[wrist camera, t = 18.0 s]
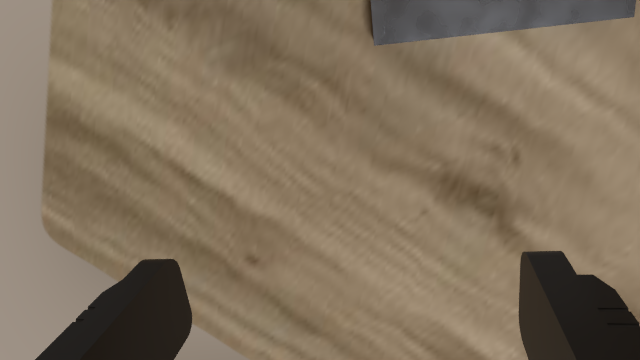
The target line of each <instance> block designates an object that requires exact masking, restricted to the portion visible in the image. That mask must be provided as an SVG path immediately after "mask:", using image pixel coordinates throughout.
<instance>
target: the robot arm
mask: <svg viewBox="0 0 640 360" xmlns="http://www.w3.org/2000/svg"><path fill="white" fill-rule="evenodd" d="M191 325H192V312H191V308H190V304H189V300H188V297H187V293H186V289H185V285H184V282H183V278H182V274H181V271H180V267H179V265H178V263H177V262H176V261H175V260H174V259H148V260H142V261H141V262H139V263H138V264H137V265H136V266H135V267H134V268H133V270H132V271H131V272H130V273H129V274H128V275H127V276H126V277H125V278H124V279H123V280H121V281H120V282H118V283H117V284H115V285H114V286H112V287H110V288H109V289H107V290H106V291H104V292H102V293H101V294H100V295H99V297H97V299H95V300H94V301H93V302H92V303H91V304H90V305H89V306H88V310H84V311H83V312H82V313H81V314H80V315H79V316H78V318H76V322H72V323H71V324H70V326H69V327H67V328H66V329H65V330H64V332H62V334H60V335H59V336H58V337H57V338H56V340H54V342H52V343H51V344H50V345H49V346H48V347H47V349H46V350H45V351H43V352H42V353H41V354H40V355H39V356H38V357H37V358H36V359H35V360H174V358H175V357H176V355H177V354H178V352H179V350H180V349H181V347H182V346H183V344H184V342H185V341H186V339H187V338H188V335H189V333H190V329H191ZM519 325H520V332H521V337H522V341H523V344H524V347H525V350H526V353H527V356H528V359H529V360H640V326H639V323H638V321H637V320H636V318H635V317H634V316H633V314H632V313H631V312H629V311H628V307H627V306H626V304H625V303H624V302H623V300H622V299H621V297H620V296H619V295H618V293H617V292H616V290H615V289H613V288H612V287H610V286H609V285H607V284H606V283H604V282H603V281H601V280H600V279H598V278H597V277H596V276H594V275H577V274H576V272H575V271H574V269H573V268H572V266H571V264H570V263H569V261H568V259H567V258H566V256H565V255H564V253H563V252H562V251H538V252H523V253H522V256H521V264H520V292H519Z"/></svg>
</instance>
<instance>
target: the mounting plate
mask: <svg viewBox="0 0 640 360" xmlns="http://www.w3.org/2000/svg"><path fill="white" fill-rule="evenodd" d="M635 4H636V0H371V11H372V25H373V38H374V46H375V45H384V44H393V43H402V42H411V41H420V40H429V39H438V38H448V37H457V36H466V35H475V34H484V33H493V32H502V31H511V30H520V29H529V28H538V27H547V26H556V25H565V24H575V23H584V22H593V21H602V20H611V19H620V18H629V17H634V12H635Z"/></svg>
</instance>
